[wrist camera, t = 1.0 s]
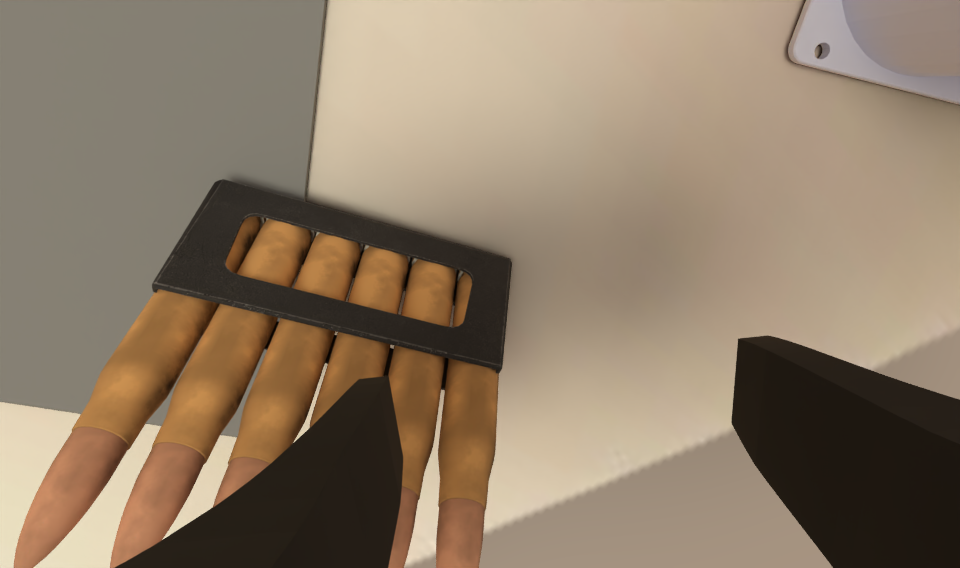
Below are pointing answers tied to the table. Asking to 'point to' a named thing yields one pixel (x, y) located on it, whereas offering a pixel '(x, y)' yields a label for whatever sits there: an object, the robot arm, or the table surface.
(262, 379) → the ammunition clip
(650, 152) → the table surface
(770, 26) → the table surface
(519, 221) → the table surface
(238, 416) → the mat
